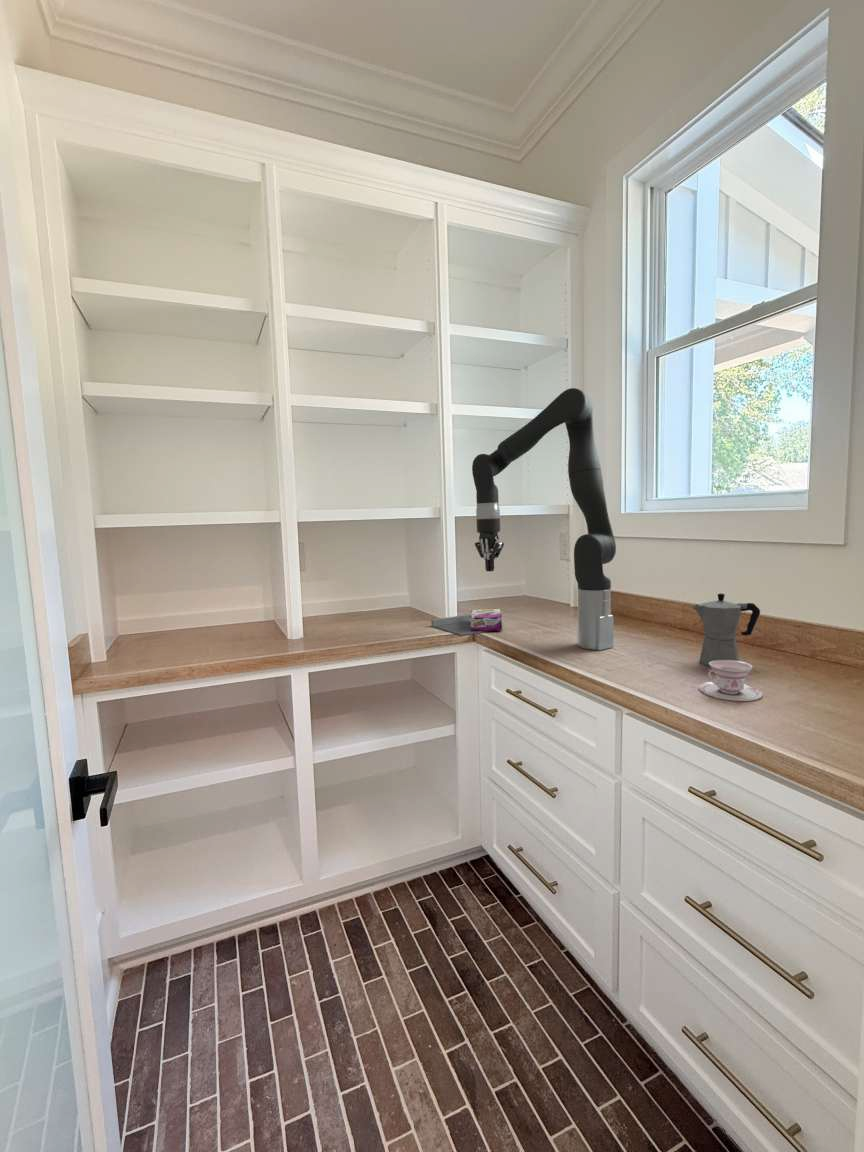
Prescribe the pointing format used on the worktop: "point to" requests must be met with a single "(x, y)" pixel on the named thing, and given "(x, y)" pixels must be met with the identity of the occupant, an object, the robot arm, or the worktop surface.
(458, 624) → the mat
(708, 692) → the teacup
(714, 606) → the coffeepot
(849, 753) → the worktop surface
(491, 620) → the candy bar box
